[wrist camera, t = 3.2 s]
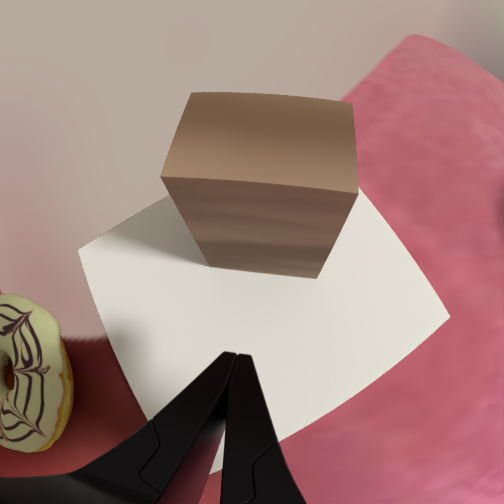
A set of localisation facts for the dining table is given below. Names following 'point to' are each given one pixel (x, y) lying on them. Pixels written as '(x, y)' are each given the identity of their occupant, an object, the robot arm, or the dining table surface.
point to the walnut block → (264, 179)
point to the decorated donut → (32, 376)
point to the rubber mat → (258, 314)
